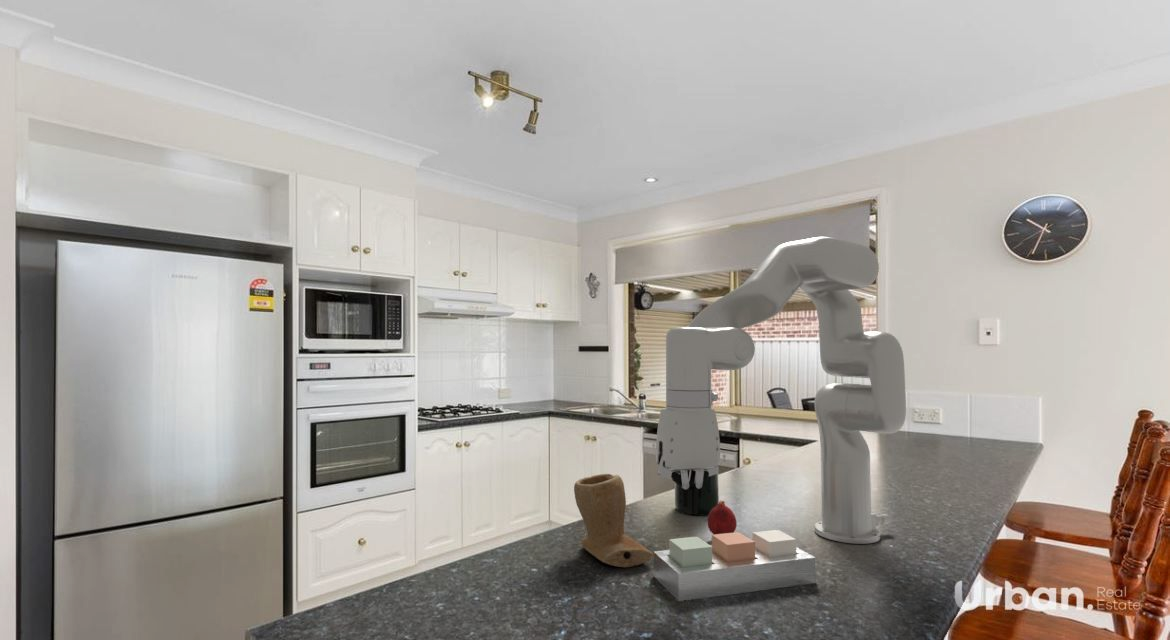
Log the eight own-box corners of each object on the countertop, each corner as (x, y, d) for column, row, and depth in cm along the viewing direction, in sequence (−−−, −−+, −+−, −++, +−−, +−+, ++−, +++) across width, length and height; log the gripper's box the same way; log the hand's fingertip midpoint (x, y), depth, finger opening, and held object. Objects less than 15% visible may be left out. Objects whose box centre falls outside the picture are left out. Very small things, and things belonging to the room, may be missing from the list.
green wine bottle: (686, 501, 144) (685, 372, 146) (725, 508, 138) (723, 373, 140) (667, 511, 136) (666, 373, 137) (708, 519, 130) (706, 374, 131)
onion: (737, 546, 112) (737, 505, 112) (707, 544, 113) (707, 503, 113) (735, 536, 118) (735, 497, 118) (707, 534, 119) (707, 496, 119)
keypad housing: (779, 561, 104) (779, 538, 104) (815, 582, 94) (815, 557, 95) (653, 576, 97) (653, 551, 97) (678, 601, 88) (678, 573, 88)
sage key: (697, 554, 97) (697, 536, 97) (712, 565, 92) (711, 546, 92) (669, 557, 96) (669, 539, 96) (682, 568, 91) (682, 549, 91)
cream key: (778, 546, 101) (777, 529, 102) (796, 557, 96) (796, 539, 97) (752, 549, 100) (752, 532, 100) (770, 560, 95) (769, 542, 95)
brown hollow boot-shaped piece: (566, 547, 112) (566, 470, 112) (621, 540, 116) (621, 466, 116) (593, 576, 97) (593, 488, 98) (655, 567, 102) (654, 482, 102)
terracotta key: (738, 549, 99) (738, 532, 99) (755, 560, 94) (755, 541, 94) (711, 552, 98) (711, 534, 98) (727, 563, 93) (727, 544, 93)
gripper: (717, 398, 101) (717, 502, 100) (638, 399, 97) (638, 508, 96) (739, 401, 94) (740, 514, 93) (656, 403, 90) (656, 521, 89)
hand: (688, 511), depth 94 cm, fingers closed
